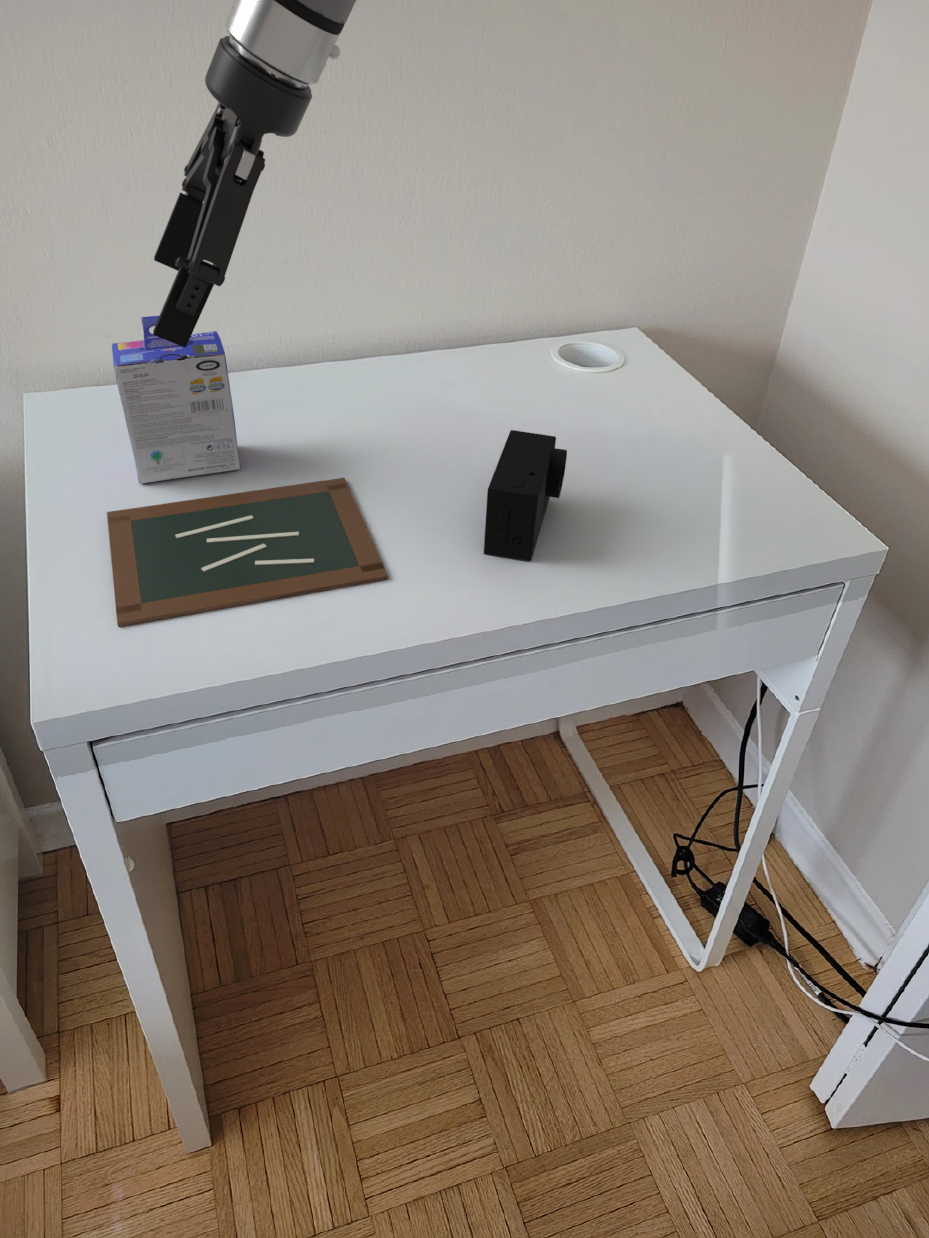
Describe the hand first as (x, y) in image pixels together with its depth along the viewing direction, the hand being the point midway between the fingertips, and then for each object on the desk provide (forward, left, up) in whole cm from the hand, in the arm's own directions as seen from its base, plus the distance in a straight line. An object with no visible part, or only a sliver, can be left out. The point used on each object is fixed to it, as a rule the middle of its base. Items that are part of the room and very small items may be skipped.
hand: (168, 300), depth 83 cm
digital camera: (+27, -19, -17) cm, 37 cm away
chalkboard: (+2, -15, -17) cm, 22 cm away
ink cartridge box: (-1, 0, -17) cm, 17 cm away
